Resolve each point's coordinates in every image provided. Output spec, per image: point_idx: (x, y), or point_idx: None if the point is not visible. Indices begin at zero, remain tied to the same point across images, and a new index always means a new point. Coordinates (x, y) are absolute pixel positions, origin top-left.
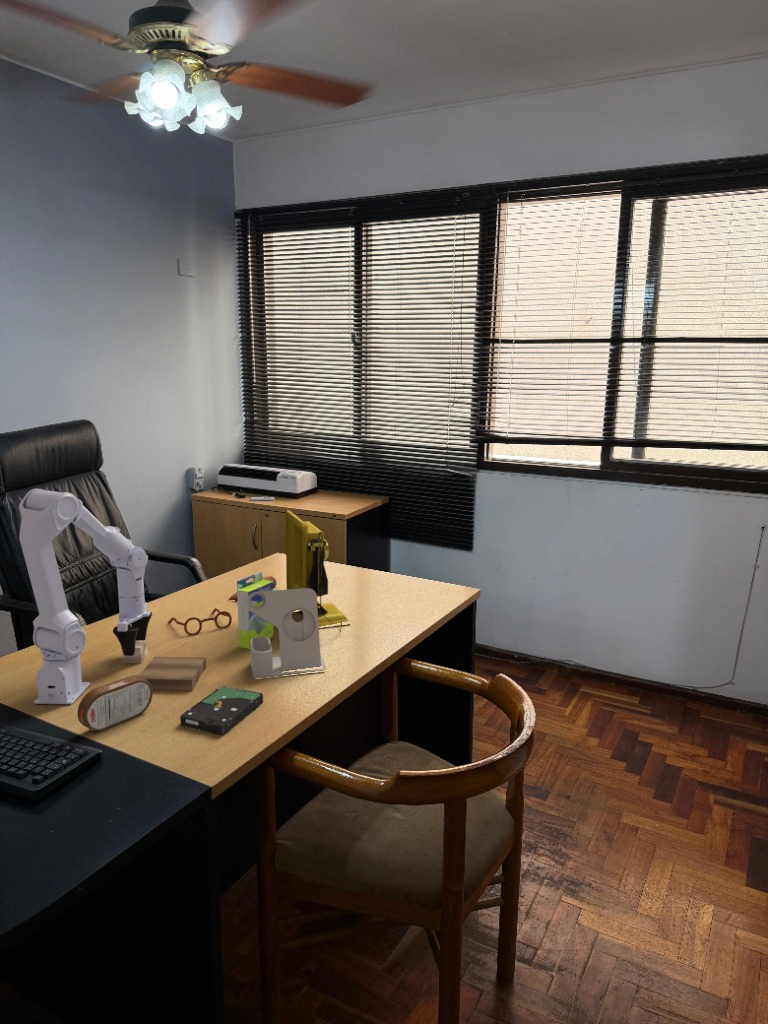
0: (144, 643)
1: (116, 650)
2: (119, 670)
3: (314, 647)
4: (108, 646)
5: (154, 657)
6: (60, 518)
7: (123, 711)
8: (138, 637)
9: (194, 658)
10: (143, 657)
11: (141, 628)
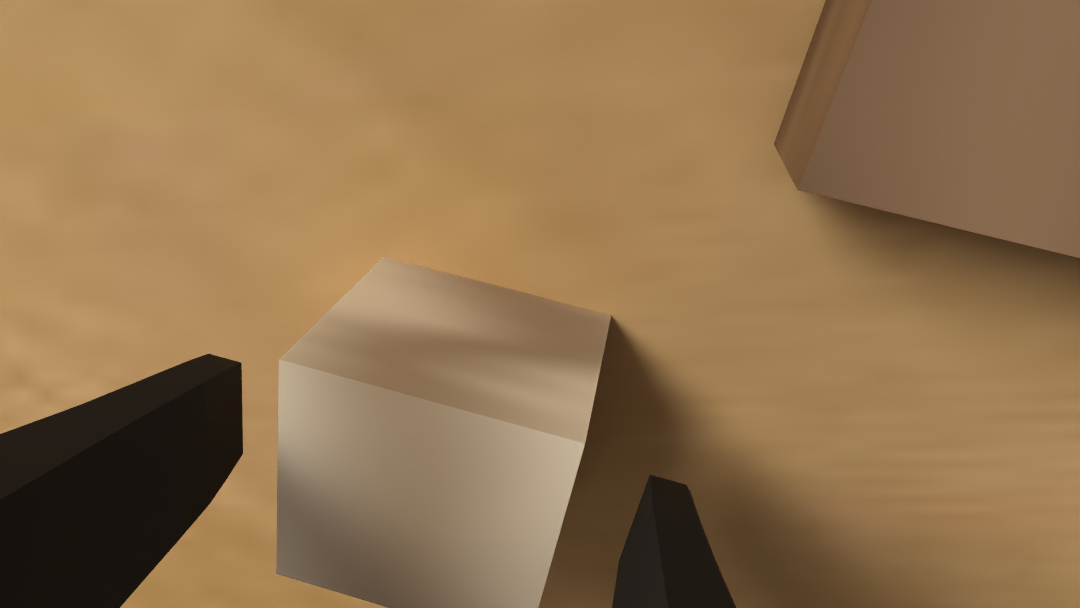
0: (395, 389)
1: (252, 532)
2: (762, 517)
3: None
4: (171, 582)
5: (848, 185)
6: None
7: None
8: (193, 473)
9: None
10: (524, 313)
11: (61, 542)
